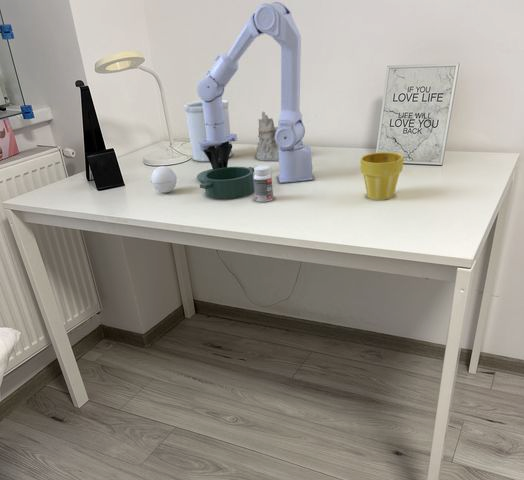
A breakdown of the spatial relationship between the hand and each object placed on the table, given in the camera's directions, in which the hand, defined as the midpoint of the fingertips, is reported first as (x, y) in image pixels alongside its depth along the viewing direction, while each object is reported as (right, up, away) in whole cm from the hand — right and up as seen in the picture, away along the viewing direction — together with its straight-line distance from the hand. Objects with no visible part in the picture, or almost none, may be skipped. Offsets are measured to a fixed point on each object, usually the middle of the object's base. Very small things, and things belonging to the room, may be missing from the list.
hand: (220, 170), depth 165 cm
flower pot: (+43, -15, -26) cm, 53 cm away
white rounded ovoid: (-16, -10, -8) cm, 20 cm away
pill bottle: (+13, -15, -20) cm, 28 cm away
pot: (+4, -10, -12) cm, 16 cm away
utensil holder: (-5, +13, +25) cm, 28 cm away
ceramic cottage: (+19, +11, +19) cm, 29 cm away
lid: (0, -1, +1) cm, 2 cm away
